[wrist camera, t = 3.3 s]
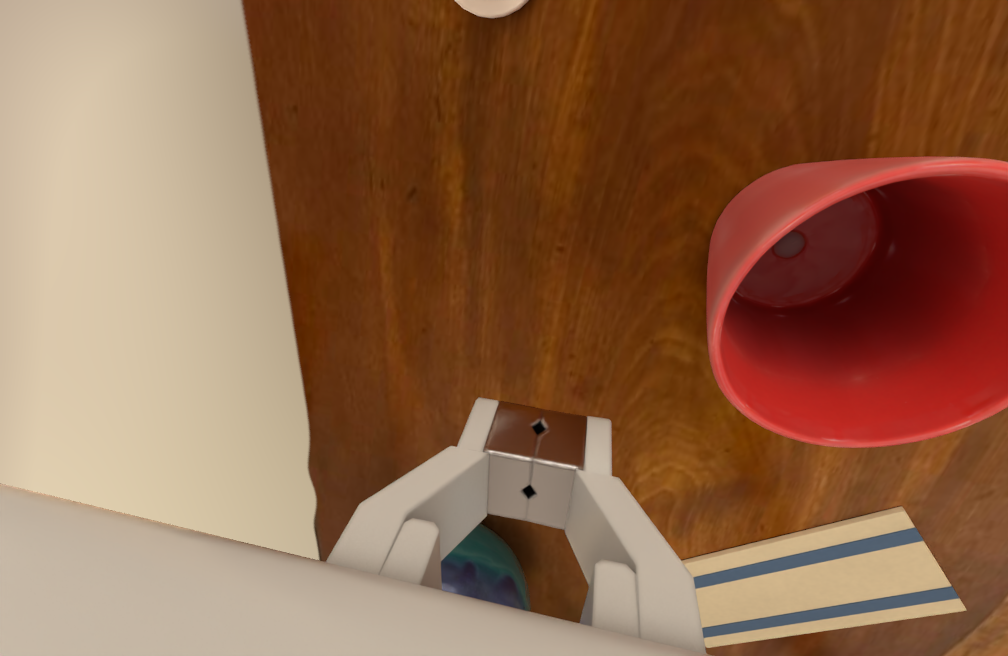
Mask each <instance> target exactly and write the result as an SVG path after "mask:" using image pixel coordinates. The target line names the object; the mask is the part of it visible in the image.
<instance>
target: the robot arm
mask: <svg viewBox="0 0 1008 656" xmlns="http://www.w3.org/2000/svg"><path fill="white" fill-rule="evenodd" d="M487 514H492V515H497V516H503V517H508V518H514V519H519V520H525V521H529V522H533V523H538V524H542V525H546V526H550V527H554V528H558V529H563V530H565V534H566V536H567V538H568V540H569V543H570V545H571V547H572V549H573V551H574V554H575V556H576V558H577V560H578V563H579V565H580V567H581V569H582V571H583V574H584V576H585V578H586V580H587V582H588V585H589V589H588V593H587V597H586V601H585V604H584V608H583V612H582V616H581V620H580V623H575V622H571V621H567V620H562V619H558V618H554V617H550V616H546V615H542V614H538V613H533V612H529V611H525V610H521V609H517V608H513V607H509V606H505V605H500V604H496V603H492V602H488V601H484V600H480V599H476V598H471V597H467V596H463V595H459V594H455V593H451V592H447V591H443V590H442V580H441V561H442V560H443V559H444V558H445V557H446V556H447V555H448V554H449V553H450V552H451V551H452V550H453V549H454V548H455V547H456V546H457V545H458V544H459V543H460V542H461V541H462V540H463V539H464V538H465V537H466V536H467V535H468V534H469V533H470V532H471V531H472V530H473V529H474V528H475V527H476V526H477V525H478V524H479V523H480V522H481V521H482V520H483V519H484V518H485V517H486V516H487ZM0 656H712V655H708V654H706V649H705V643H704V637H703V631H702V625H701V619H700V613H699V607H698V602H697V596H696V590H695V584H694V578H693V576H692V575H691V573H690V572H689V571H688V569H687V568H686V567H685V565H684V564H683V563H682V561H681V560H680V559H679V557H678V556H677V555H676V553H675V552H674V551H673V549H672V548H671V547H670V545H669V544H668V543H667V541H666V540H665V539H664V537H663V536H662V535H661V533H660V532H659V531H658V529H657V528H656V527H655V525H654V524H653V523H652V521H651V520H650V519H649V517H648V516H647V514H646V513H645V512H644V510H643V509H642V508H641V506H640V505H639V504H638V502H637V501H636V500H635V498H634V497H633V496H632V494H631V493H630V492H629V490H628V489H627V488H626V486H625V485H624V484H623V482H622V481H621V480H620V478H618V477H613V476H612V440H611V421H610V419H605V418H598V417H591V416H587V417H586V416H582V415H576V414H570V413H564V412H558V411H551V410H545V409H540V408H535V407H530V406H525V405H519V404H514V403H509V402H504V401H497V400H492V399H486V398H481V397H479V398H478V399H477V400H476V401H475V404H474V406H473V409H472V411H471V413H470V416H469V418H468V421H467V423H466V426H465V428H464V431H463V433H462V435H461V438H460V440H459V443H458V445H457V447H454V446H449V447H448V448H446V449H445V450H443V451H442V452H440V453H438V454H437V455H435V456H434V457H432V458H431V459H429V460H427V461H426V462H424V463H423V464H421V465H420V466H418V467H417V468H415V469H413V470H412V471H410V472H409V473H407V474H406V475H404V476H402V477H401V478H399V479H398V480H396V481H395V482H393V483H391V484H390V485H388V486H387V487H385V488H384V489H382V490H381V491H379V492H377V493H376V494H374V495H373V496H371V497H370V498H368V499H366V500H365V501H363V502H362V503H360V504H359V506H358V508H357V509H356V511H355V513H354V514H353V516H352V518H351V519H350V521H349V523H348V525H347V526H346V528H345V530H344V531H343V533H342V535H341V537H340V538H339V540H338V542H337V543H336V545H335V547H334V549H333V550H332V552H331V554H330V555H329V557H328V559H327V561H326V562H323V561H319V560H315V559H310V558H306V557H301V556H298V555H294V554H289V553H286V552H281V551H277V550H273V549H269V548H265V547H261V546H256V545H253V544H248V543H244V542H240V541H236V540H232V539H228V538H224V537H220V536H215V535H211V534H207V533H203V532H199V531H194V530H191V529H186V528H182V527H178V526H174V525H170V524H166V523H162V522H158V521H153V520H149V519H145V518H141V517H137V516H133V515H129V514H125V513H120V512H116V511H112V510H108V509H104V508H99V507H95V506H92V505H87V504H83V503H79V502H75V501H71V500H67V499H63V498H58V497H54V496H50V495H46V494H42V493H38V492H33V491H29V490H25V489H21V488H17V487H13V486H9V485H5V484H1V483H0Z"/></svg>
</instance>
